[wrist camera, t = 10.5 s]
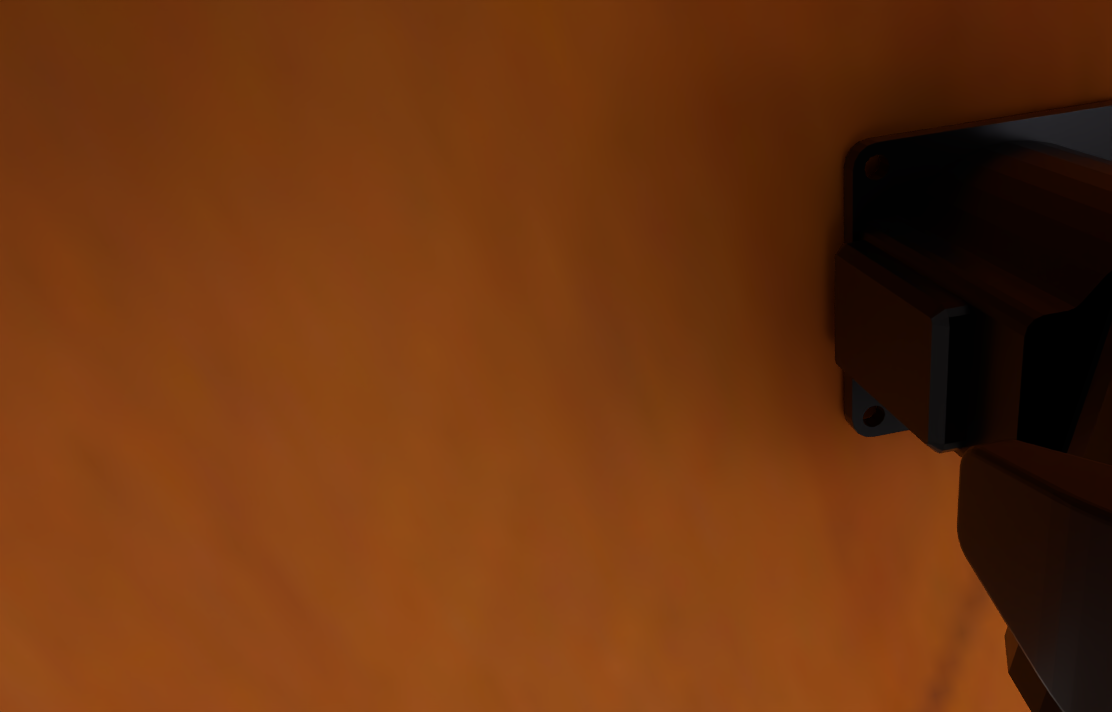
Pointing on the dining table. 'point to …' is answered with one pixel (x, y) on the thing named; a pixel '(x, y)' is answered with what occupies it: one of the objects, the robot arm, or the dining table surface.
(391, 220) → the dining table surface
